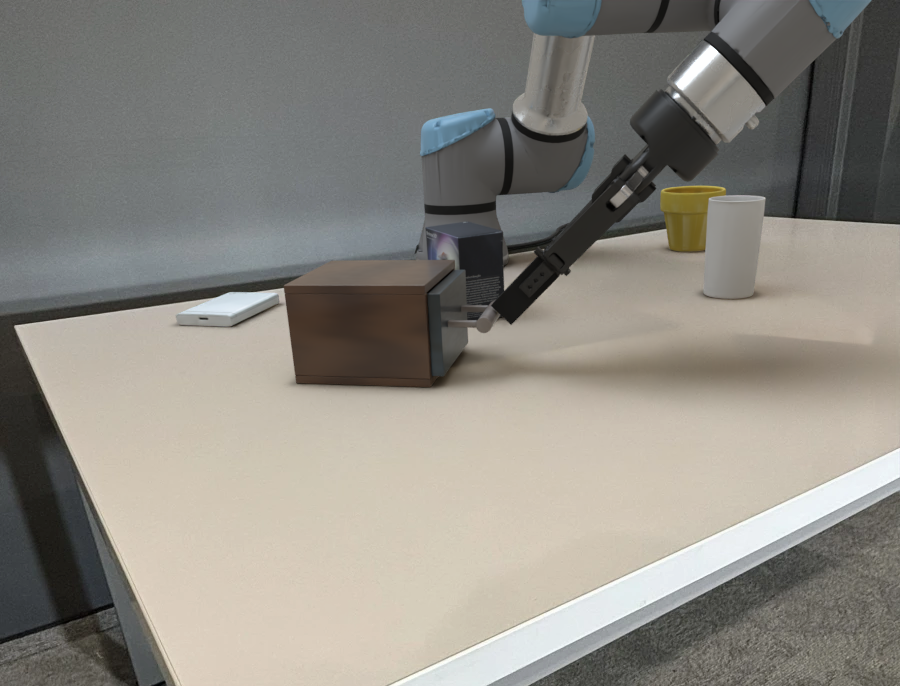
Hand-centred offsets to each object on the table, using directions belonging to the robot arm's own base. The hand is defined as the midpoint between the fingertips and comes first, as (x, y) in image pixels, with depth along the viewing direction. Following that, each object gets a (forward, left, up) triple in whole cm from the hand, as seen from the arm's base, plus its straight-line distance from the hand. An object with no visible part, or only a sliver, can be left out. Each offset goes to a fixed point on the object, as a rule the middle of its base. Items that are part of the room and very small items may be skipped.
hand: (502, 313), depth 77 cm
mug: (-42, +11, -6) cm, 43 cm away
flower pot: (-72, -4, -6) cm, 72 cm away
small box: (-19, -16, -6) cm, 25 cm away
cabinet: (+4, -12, -5) cm, 14 cm away
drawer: (+3, -8, -5) cm, 10 cm away
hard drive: (-6, -45, -6) cm, 46 cm away
